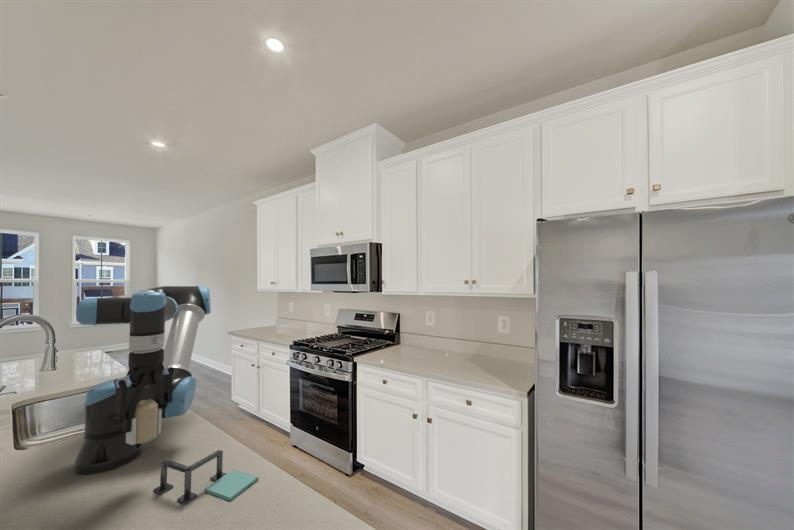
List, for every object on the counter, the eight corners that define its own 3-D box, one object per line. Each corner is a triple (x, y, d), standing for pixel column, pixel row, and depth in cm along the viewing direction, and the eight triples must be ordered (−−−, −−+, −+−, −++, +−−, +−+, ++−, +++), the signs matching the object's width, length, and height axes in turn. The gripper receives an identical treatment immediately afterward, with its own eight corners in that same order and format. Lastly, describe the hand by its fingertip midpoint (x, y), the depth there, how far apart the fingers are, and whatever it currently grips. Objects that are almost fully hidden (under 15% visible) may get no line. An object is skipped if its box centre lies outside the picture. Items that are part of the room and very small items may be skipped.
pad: (204, 491, 83) (204, 488, 83) (233, 472, 91) (233, 469, 91) (230, 501, 80) (230, 497, 80) (258, 479, 88) (258, 476, 88)
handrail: (153, 491, 83) (154, 462, 83) (197, 466, 94) (198, 440, 94) (185, 504, 78) (186, 472, 78) (227, 476, 89) (228, 448, 90)
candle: (135, 446, 82) (137, 406, 82) (126, 440, 85) (128, 401, 85) (160, 437, 87) (161, 399, 87) (151, 431, 90) (152, 395, 90)
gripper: (114, 359, 76) (110, 459, 76) (190, 344, 94) (187, 425, 93) (96, 356, 79) (92, 452, 79) (172, 342, 96) (170, 420, 96)
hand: (143, 437), depth 86 cm, fingers closed on candle, 5 cm apart
